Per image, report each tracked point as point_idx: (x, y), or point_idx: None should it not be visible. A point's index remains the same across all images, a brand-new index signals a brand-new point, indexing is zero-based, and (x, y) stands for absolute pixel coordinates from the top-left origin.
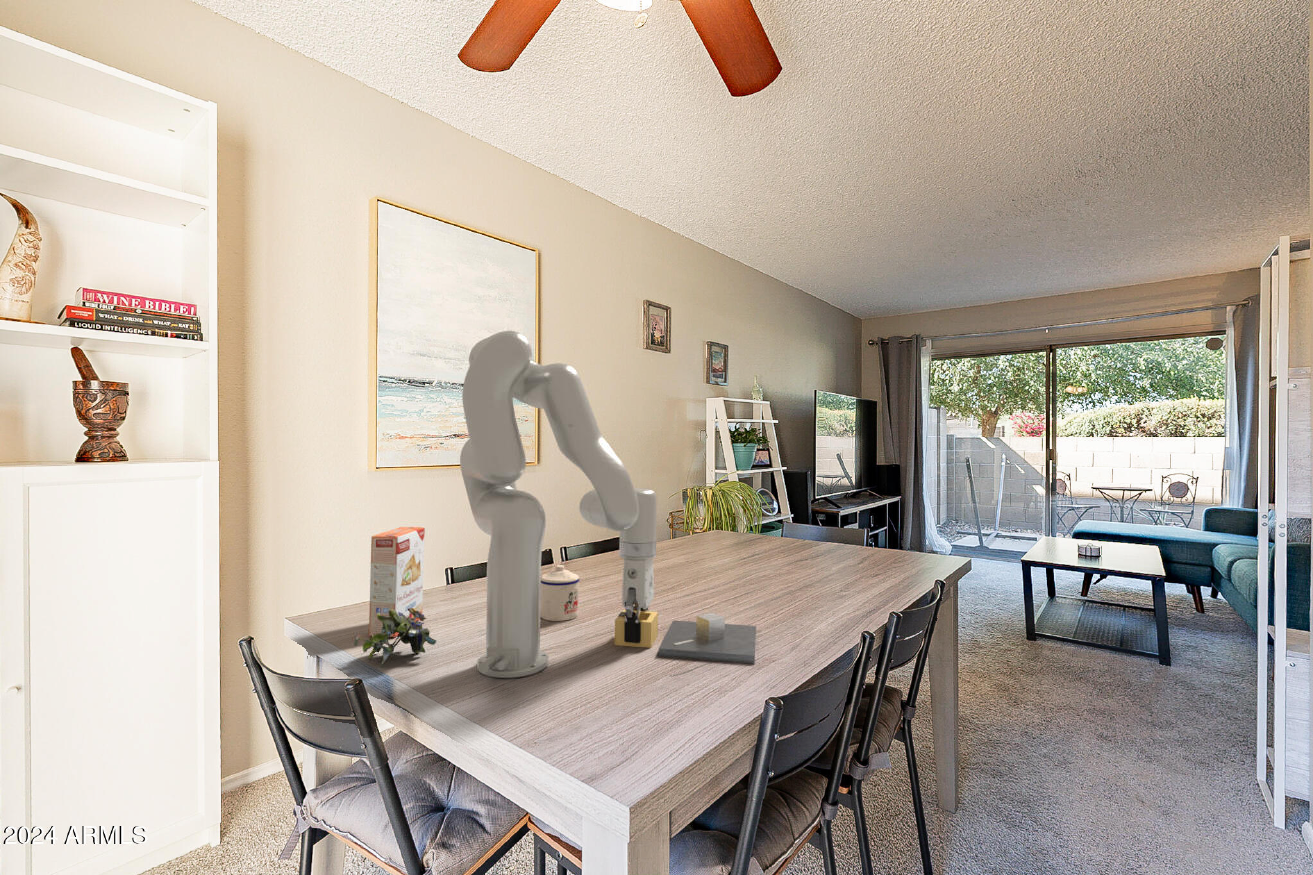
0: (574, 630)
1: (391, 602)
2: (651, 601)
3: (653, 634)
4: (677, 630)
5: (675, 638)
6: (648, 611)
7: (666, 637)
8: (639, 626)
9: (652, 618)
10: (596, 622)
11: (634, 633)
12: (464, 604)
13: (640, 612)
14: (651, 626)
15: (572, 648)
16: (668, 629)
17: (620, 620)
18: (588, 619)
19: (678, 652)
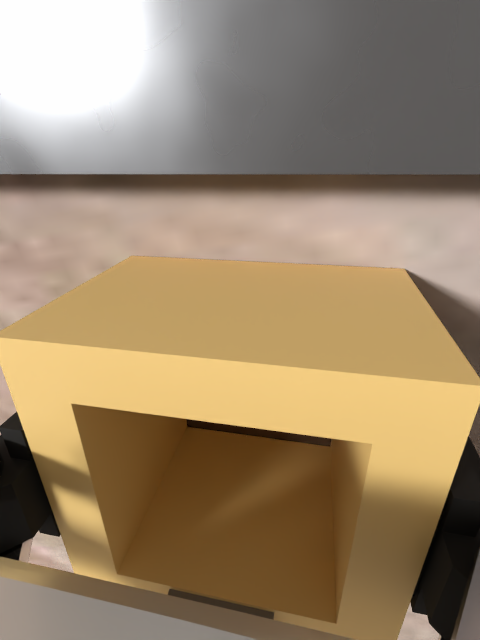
0: None
1: None
2: (22, 596)
3: (301, 287)
4: (80, 68)
5: (349, 27)
6: (29, 430)
7: (322, 150)
8: (467, 472)
9: (279, 381)
10: (62, 542)
11: (475, 460)
12: None
13: (95, 494)
14: (445, 350)
15: (427, 621)
16: (91, 172)
17: (396, 638)
18: (43, 564)
19: None
